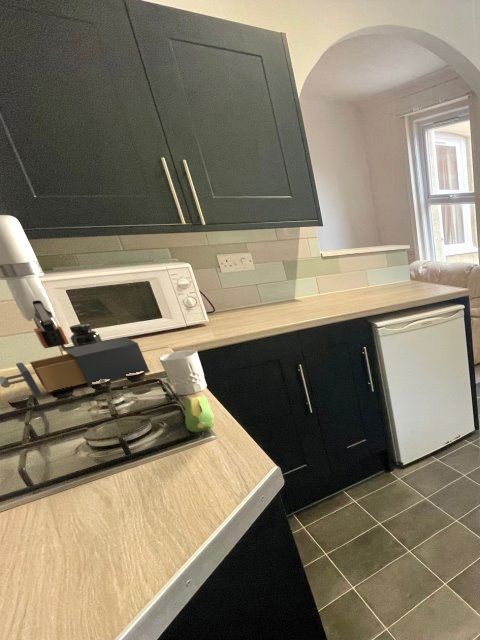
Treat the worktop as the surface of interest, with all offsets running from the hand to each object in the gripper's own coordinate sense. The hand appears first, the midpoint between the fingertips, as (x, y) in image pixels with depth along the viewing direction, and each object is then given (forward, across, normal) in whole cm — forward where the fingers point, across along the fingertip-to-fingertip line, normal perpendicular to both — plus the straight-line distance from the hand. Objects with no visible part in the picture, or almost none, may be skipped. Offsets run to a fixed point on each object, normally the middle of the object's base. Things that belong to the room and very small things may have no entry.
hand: (54, 343), depth 107 cm
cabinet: (+14, -10, +10) cm, 20 cm away
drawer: (+14, -10, -3) cm, 17 cm away
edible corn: (+14, +47, +13) cm, 51 cm away
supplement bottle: (+15, -34, +10) cm, 39 cm away
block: (0, 0, 0) cm, 0 cm away
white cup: (+14, +25, +18) cm, 34 cm away
